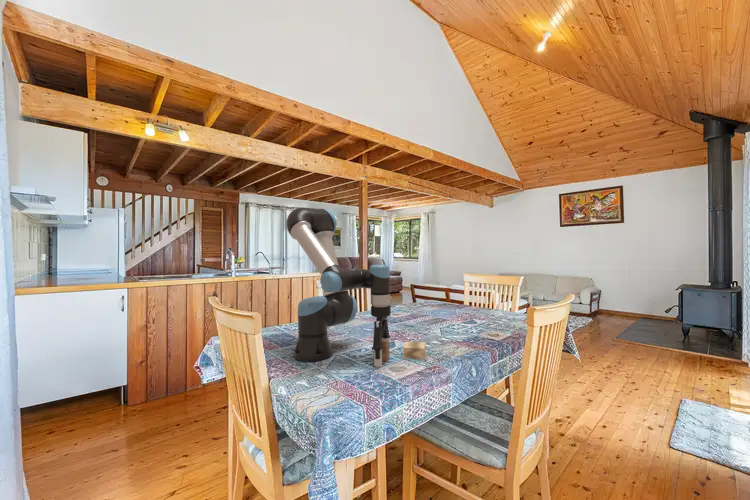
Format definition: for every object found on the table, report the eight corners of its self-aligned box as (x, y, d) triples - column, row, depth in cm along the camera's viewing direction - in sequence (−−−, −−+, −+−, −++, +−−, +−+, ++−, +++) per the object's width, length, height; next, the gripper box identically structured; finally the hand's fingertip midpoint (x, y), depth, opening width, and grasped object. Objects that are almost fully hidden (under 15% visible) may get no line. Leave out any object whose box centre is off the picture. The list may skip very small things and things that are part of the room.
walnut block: (374, 363, 122) (373, 345, 122) (376, 359, 127) (376, 341, 127) (387, 364, 121) (386, 345, 121) (389, 359, 126) (388, 341, 126)
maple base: (403, 358, 125) (403, 347, 125) (405, 351, 133) (405, 341, 133) (424, 359, 123) (424, 348, 123) (425, 352, 131) (425, 342, 131)
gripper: (384, 311, 110) (385, 374, 111) (395, 299, 135) (396, 350, 135) (363, 311, 112) (364, 372, 112) (377, 299, 136) (378, 350, 137)
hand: (381, 360), depth 124 cm, fingers open, 13 cm apart
